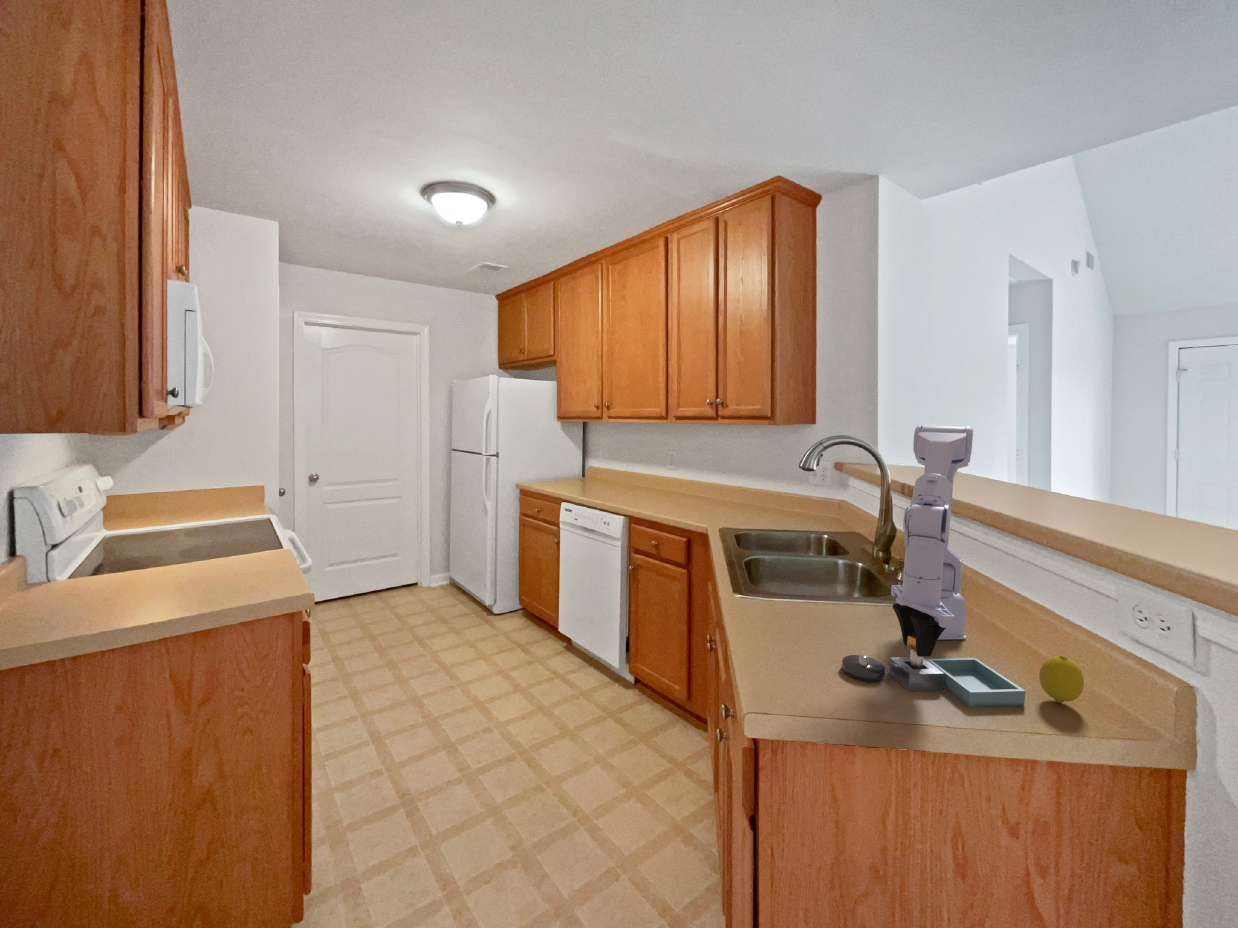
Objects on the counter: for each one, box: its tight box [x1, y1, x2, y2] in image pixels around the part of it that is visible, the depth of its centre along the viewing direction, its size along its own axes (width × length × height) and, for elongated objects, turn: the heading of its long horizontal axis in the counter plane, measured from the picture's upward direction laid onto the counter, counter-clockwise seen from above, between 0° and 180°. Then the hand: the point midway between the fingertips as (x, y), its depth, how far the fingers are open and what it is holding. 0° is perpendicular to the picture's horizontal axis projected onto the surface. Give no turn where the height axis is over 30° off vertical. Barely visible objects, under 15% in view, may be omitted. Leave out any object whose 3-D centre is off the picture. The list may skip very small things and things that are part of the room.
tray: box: [925, 657, 1026, 708], centre depth 91 cm, size 9×11×2 cm
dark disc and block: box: [841, 654, 944, 692], centre depth 95 cm, size 14×10×3 cm
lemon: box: [1039, 654, 1085, 704], centre depth 86 cm, size 6×6×8 cm
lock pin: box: [906, 633, 924, 669], centre depth 93 cm, size 3×3×7 cm
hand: (917, 650), depth 92 cm, fingers closed on lock pin, 3 cm apart
